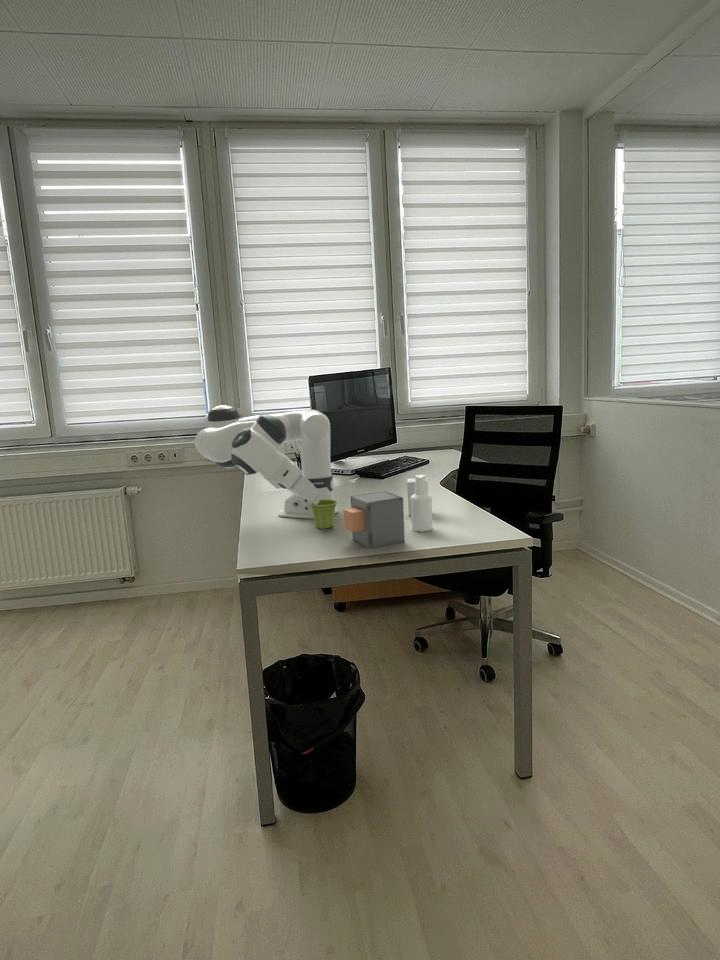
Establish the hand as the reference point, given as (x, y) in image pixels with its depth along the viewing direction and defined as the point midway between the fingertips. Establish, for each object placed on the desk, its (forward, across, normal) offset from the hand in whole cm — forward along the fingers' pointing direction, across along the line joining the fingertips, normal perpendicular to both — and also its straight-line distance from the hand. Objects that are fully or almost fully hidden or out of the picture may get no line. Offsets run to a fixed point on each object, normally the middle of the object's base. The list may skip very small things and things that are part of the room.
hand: (316, 502), depth 174 cm
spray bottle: (+38, -4, +16) cm, 41 cm away
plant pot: (+20, -27, -2) cm, 33 cm away
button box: (+25, -1, +4) cm, 25 cm away
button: (+16, -1, +2) cm, 16 cm away
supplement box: (+45, -24, +24) cm, 56 cm away
